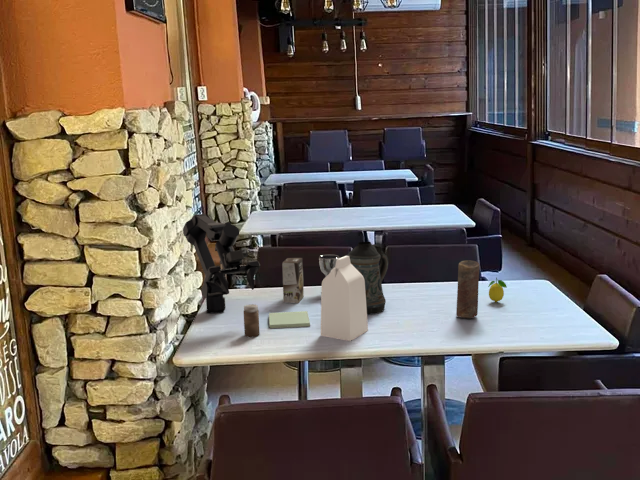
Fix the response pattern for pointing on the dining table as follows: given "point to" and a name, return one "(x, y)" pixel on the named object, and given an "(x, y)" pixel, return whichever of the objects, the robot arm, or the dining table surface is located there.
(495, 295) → the lemon
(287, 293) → the coffee box
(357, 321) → the milk
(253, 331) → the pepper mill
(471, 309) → the candle
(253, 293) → the dining table surface
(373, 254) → the beer stein
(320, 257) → the wine glass
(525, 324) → the dining table surface
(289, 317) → the serving board
